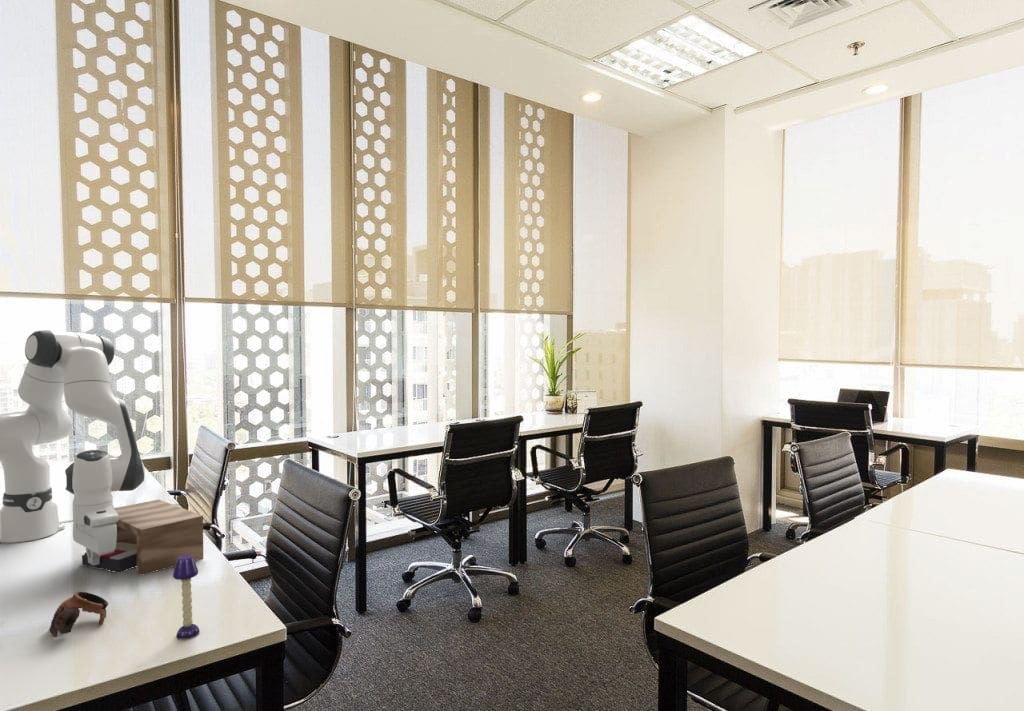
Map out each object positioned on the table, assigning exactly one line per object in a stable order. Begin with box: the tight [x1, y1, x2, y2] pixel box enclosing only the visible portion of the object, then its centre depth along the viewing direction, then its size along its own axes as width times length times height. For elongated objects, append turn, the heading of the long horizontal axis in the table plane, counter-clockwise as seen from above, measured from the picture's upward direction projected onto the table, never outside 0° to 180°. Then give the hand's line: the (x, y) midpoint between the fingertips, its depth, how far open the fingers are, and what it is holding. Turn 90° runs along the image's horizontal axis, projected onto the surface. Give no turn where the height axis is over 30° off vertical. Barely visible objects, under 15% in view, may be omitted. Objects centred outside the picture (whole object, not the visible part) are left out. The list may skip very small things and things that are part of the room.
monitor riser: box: [114, 499, 204, 576], centre depth 174 cm, size 28×16×12 cm, turn 53°
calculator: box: [81, 542, 137, 573], centre depth 169 cm, size 11×4×15 cm
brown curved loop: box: [48, 591, 109, 637], centre depth 130 cm, size 12×10×8 cm
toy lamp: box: [172, 554, 201, 640], centre depth 128 cm, size 5×5×17 cm
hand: (93, 563), depth 163 cm, fingers closed
